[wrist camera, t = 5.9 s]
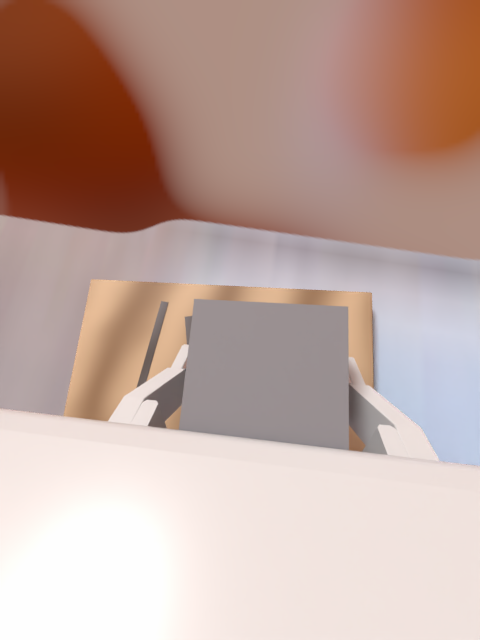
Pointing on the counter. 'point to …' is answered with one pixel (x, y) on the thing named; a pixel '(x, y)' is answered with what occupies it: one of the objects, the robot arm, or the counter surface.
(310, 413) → the block
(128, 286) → the board
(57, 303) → the counter surface
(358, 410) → the robot arm
